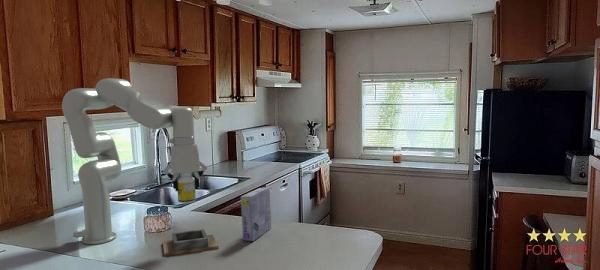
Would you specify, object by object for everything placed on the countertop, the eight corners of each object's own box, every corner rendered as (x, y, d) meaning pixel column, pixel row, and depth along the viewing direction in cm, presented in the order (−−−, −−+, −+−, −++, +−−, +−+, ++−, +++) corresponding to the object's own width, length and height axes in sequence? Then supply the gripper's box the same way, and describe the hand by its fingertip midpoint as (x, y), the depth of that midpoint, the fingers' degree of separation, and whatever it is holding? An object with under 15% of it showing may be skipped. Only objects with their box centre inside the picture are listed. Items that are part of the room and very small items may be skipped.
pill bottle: (179, 200, 162) (178, 169, 161) (197, 199, 162) (195, 168, 161) (176, 204, 156) (174, 172, 154) (194, 203, 156) (192, 172, 155)
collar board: (164, 256, 151) (163, 245, 151) (162, 243, 164) (162, 233, 164) (218, 248, 157) (218, 237, 157) (212, 236, 171) (212, 227, 170)
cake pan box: (262, 226, 183) (260, 185, 181) (273, 227, 181) (271, 186, 179) (241, 241, 165) (239, 196, 163) (253, 242, 163) (251, 197, 161)
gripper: (159, 144, 151) (162, 194, 152) (209, 141, 156) (211, 189, 158) (158, 142, 158) (161, 190, 159) (206, 139, 163) (208, 185, 165)
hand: (186, 189), depth 159 cm, fingers closed on pill bottle, 6 cm apart
